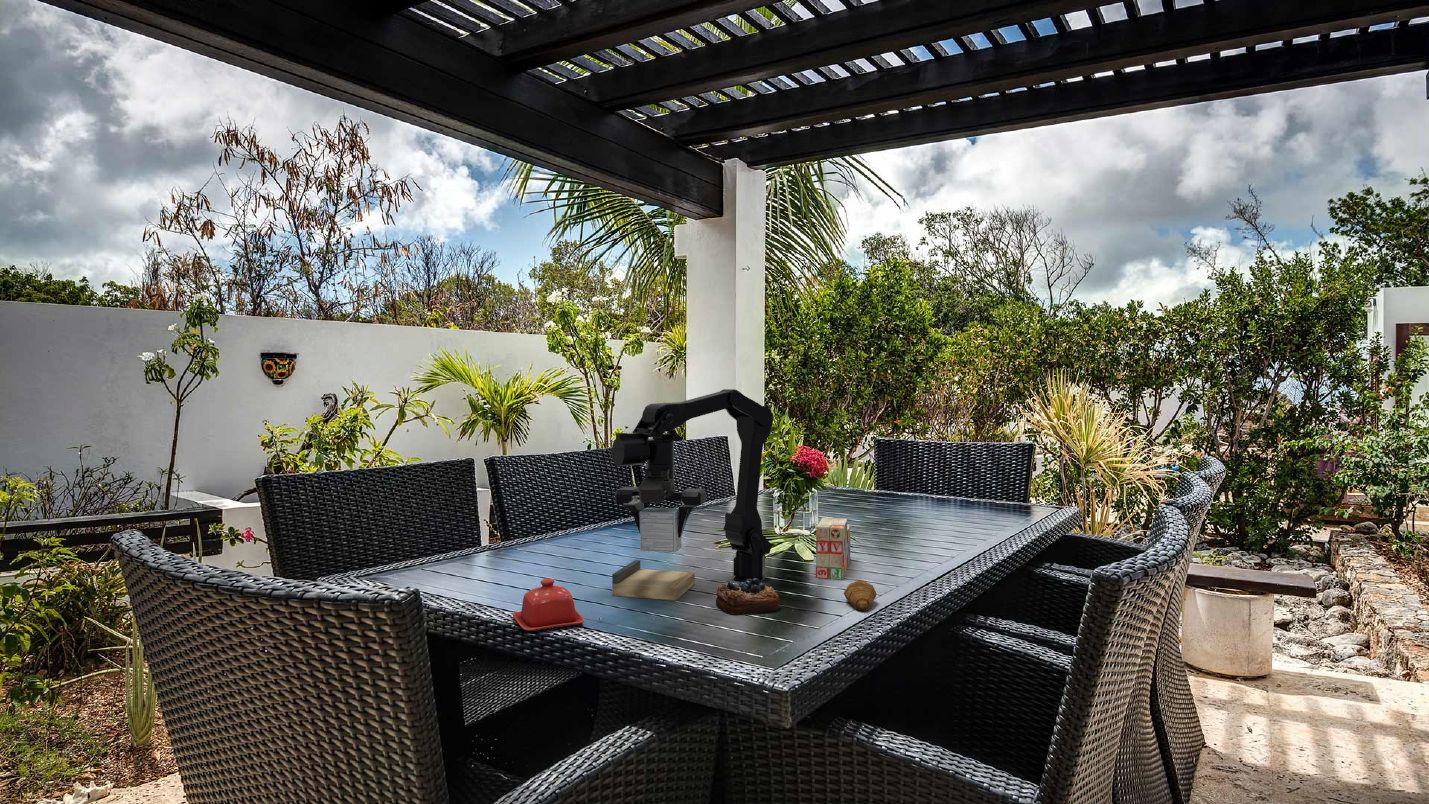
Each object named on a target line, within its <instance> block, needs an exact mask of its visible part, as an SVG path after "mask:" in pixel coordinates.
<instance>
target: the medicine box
mask: <svg viewBox="0 0 1429 804" xmlns="http://www.w3.org/2000/svg"><path fill="white" fill-rule="evenodd" d="M639 513H640V533H639V538H640V539H639V541H640V547H639V548H640V552H654V553H655V552H656V553H657V552H658V553H660V552H661V553H677V552H678V551H679V550H681V549H682V545H683V544H682V537H681V538H679V537H678V525H679V507H678V508H677V507H676V508H675V507H674V508H673V507H668V508H667V507H644V509H643V510H641V511H640V512H639Z"/></svg>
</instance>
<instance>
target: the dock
mask: <svg viewBox="0 0 1429 804" xmlns="http://www.w3.org/2000/svg"><path fill="white" fill-rule="evenodd" d="M695 573H696V572H690V571H689V572H688V571H672V570H660V569H643V568H641V559H635V560H633V561H632V562H630V563H628V564H626V565H625V566H624V567H622V568H620V569H618V570H617V571H615V572H614V573H612V574H611V575H612V579H611V580H612V581H611V582H612V583H611V584H612V586H611V587H612V588H611V589H612V590H611V591H612V593H611V594H612V595H614V597H615V596H616V597H625V598H627V597H628V598H639V599H640V598H641V599H654V600H665V601H666V600H667V601H677V600H678V599H679V598H680V597H682V595H684V594H685V593H686V592H688V590H690V589H691V588H692V587H693V586H694V585H695V581H696V577H695Z"/></svg>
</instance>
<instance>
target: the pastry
mask: <svg viewBox="0 0 1429 804" xmlns="http://www.w3.org/2000/svg"><path fill="white" fill-rule="evenodd" d="M715 603H716V605H717V606H718V608H720V609H721V610H722V611H724V612H725V613H727V614H730V615H731V616H744V615H753V614H764V613H771V612H772V613H773V612H777V611H779V609H780V608H779V607H780V606H779V605H780V597H779V595H778V593H777V592H776V590H775V589H774V588H773V586H768V585H766V584H765V583H764V582H763V581H762V582H760V581H759V579H757V578H754V579H747V580H746V581H740V582H739V583H733V581H732V580H731V581H729V582H726V583H725V582H723V583H722V584H721V585H720V586H717V590H716V598H715Z"/></svg>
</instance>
